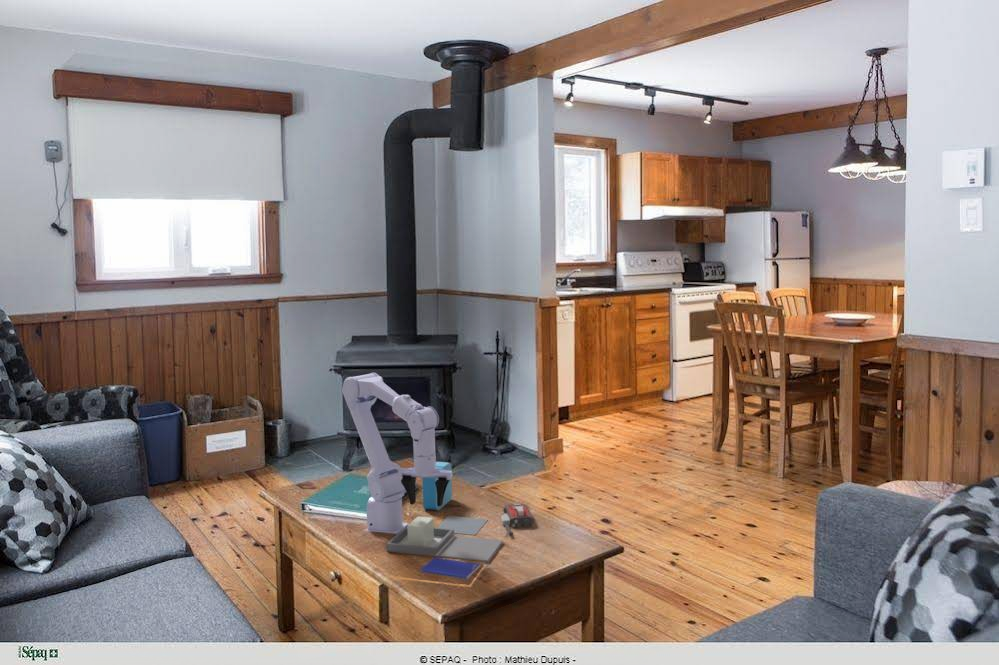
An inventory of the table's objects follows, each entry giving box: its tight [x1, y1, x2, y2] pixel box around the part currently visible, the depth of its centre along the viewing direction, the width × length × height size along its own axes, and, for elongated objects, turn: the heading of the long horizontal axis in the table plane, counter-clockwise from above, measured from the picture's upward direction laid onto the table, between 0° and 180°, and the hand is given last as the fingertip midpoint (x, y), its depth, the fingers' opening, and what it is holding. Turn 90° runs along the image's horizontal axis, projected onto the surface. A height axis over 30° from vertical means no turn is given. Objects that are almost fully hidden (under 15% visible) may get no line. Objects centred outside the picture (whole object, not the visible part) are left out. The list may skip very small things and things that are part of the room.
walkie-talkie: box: [500, 502, 534, 536], centre depth 222 cm, size 9×4×20 cm
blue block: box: [421, 461, 453, 511], centre depth 238 cm, size 12×4×12 cm, turn 161°
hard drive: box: [419, 557, 482, 580], centre depth 192 cm, size 2×8×12 cm
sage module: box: [407, 515, 435, 546], centre depth 207 cm, size 4×7×6 cm, turn 164°
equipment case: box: [385, 524, 504, 564], centre depth 206 cm, size 27×14×2 cm, turn 74°
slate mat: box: [436, 515, 489, 536], centre depth 220 cm, size 12×12×1 cm
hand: (426, 504), depth 209 cm, fingers open, 7 cm apart
